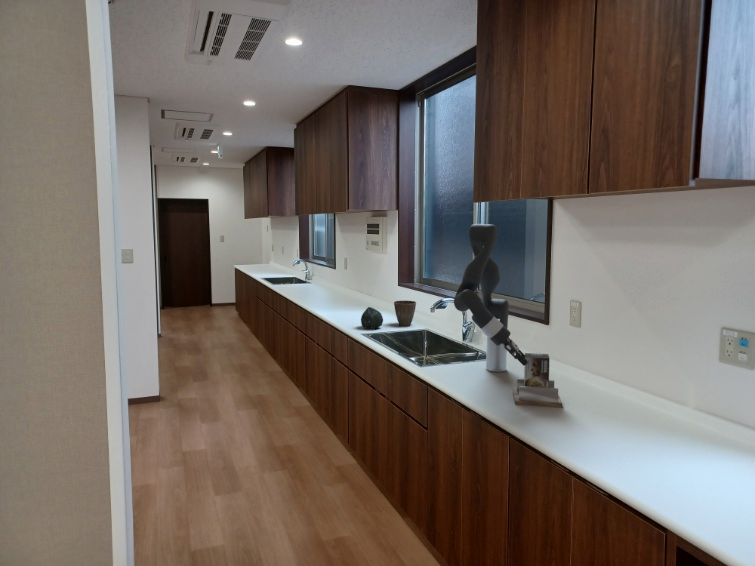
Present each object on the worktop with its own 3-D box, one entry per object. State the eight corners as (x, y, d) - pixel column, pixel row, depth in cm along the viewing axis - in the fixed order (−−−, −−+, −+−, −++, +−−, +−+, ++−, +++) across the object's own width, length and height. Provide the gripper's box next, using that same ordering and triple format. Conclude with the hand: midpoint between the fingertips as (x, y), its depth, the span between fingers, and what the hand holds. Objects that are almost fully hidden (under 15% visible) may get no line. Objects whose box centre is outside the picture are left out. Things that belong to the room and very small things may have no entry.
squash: (387, 318, 349) (372, 301, 348) (386, 323, 334) (370, 305, 333) (372, 331, 351) (357, 315, 350) (369, 337, 336) (354, 320, 336)
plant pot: (419, 326, 347) (419, 303, 345) (398, 328, 342) (398, 304, 341) (411, 322, 361) (411, 300, 359) (390, 324, 356) (390, 301, 355)
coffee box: (547, 394, 204) (549, 353, 202) (548, 399, 197) (550, 357, 196) (523, 392, 206) (524, 352, 204) (523, 397, 200) (525, 356, 198)
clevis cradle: (512, 392, 210) (513, 377, 209) (556, 395, 207) (557, 379, 206) (515, 404, 196) (515, 387, 196) (562, 407, 193) (563, 390, 192)
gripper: (503, 328, 194) (534, 359, 193) (501, 321, 208) (530, 350, 207) (488, 341, 196) (519, 372, 195) (487, 333, 209) (516, 362, 209)
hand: (525, 361), depth 201 cm, fingers open, 8 cm apart
